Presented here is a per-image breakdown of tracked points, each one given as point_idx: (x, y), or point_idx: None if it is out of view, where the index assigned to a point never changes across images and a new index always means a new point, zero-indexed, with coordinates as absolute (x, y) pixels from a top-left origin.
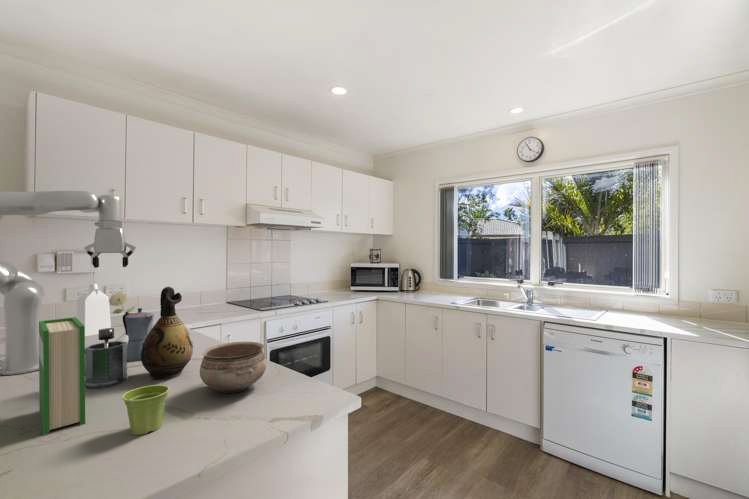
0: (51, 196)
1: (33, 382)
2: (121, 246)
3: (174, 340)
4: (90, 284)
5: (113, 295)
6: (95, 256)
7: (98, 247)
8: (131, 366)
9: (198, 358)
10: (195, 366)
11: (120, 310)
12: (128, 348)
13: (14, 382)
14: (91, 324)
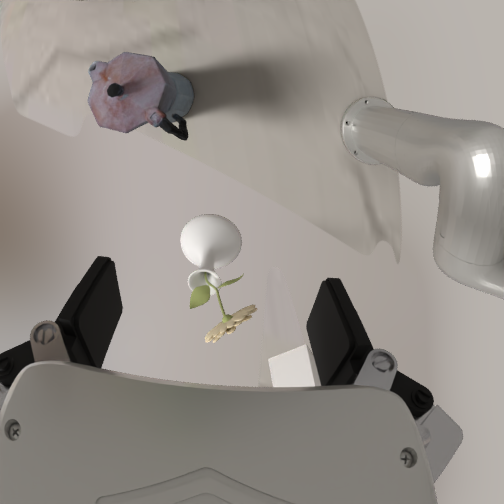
0: None
1: (334, 25)
2: (3, 427)
3: None
4: None
5: (242, 316)
6: (359, 368)
7: (374, 457)
8: (174, 36)
9: (63, 57)
10: (72, 11)
11: (223, 283)
12: (179, 79)
13: (364, 47)
14: (300, 364)
